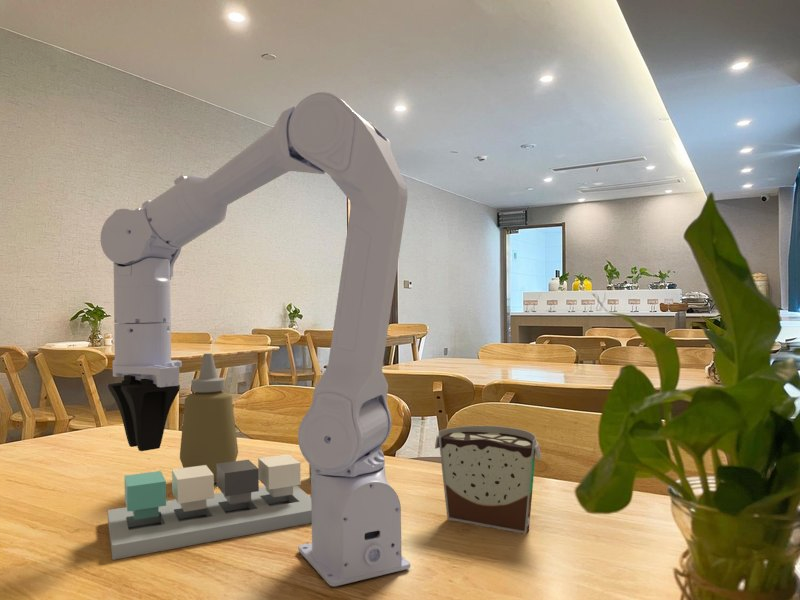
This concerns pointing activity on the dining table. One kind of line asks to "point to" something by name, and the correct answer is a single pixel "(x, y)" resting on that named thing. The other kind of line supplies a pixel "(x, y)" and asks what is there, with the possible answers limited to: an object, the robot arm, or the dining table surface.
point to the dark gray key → (237, 480)
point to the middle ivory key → (192, 487)
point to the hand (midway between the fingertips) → (144, 447)
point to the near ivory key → (279, 474)
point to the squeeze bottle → (208, 422)
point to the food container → (488, 475)
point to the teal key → (145, 494)
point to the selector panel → (205, 522)
